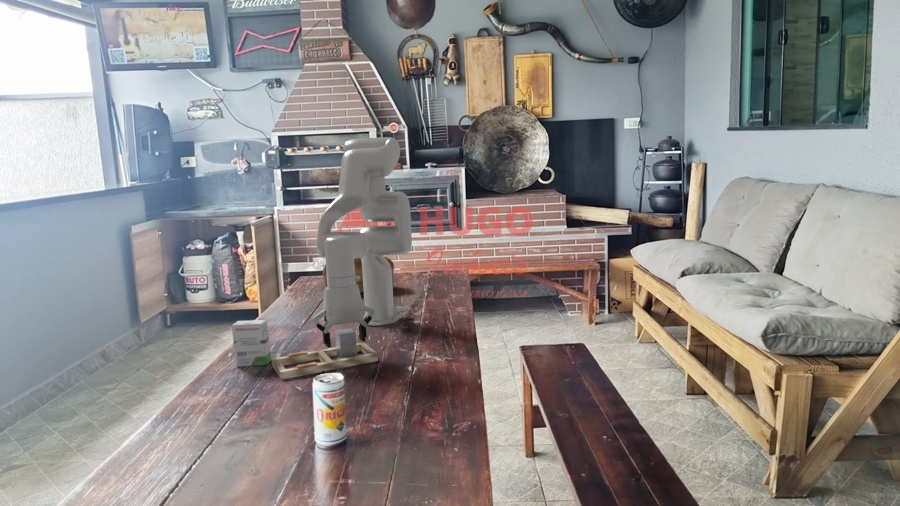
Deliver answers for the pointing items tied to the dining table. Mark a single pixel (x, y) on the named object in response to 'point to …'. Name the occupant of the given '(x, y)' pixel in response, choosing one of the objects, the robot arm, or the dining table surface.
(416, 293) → the dining table surface
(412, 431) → the dining table surface
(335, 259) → the robot arm
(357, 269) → the bread
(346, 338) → the grey rectangular block
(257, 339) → the ink box
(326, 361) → the wooden frame
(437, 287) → the dining table surface
